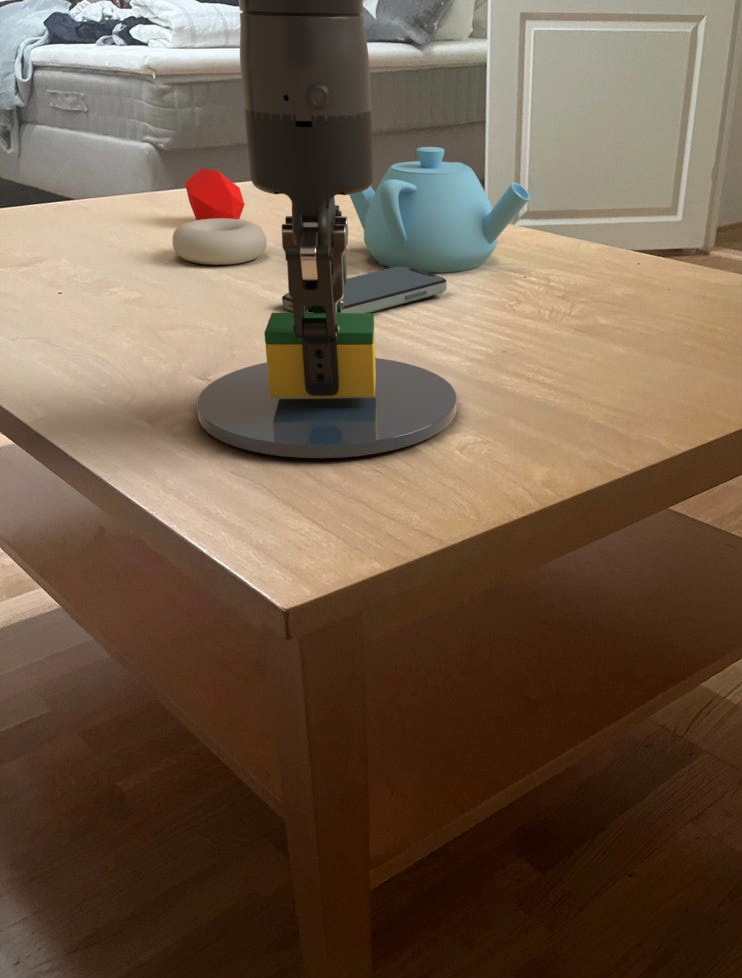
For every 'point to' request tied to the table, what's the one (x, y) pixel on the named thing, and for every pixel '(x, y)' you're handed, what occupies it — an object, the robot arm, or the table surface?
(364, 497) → the table surface
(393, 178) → the teapot
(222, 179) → the faceted red jewel
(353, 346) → the sponge
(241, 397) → the plate
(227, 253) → the donut
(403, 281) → the smartphone
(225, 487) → the table surface
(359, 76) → the robot arm
